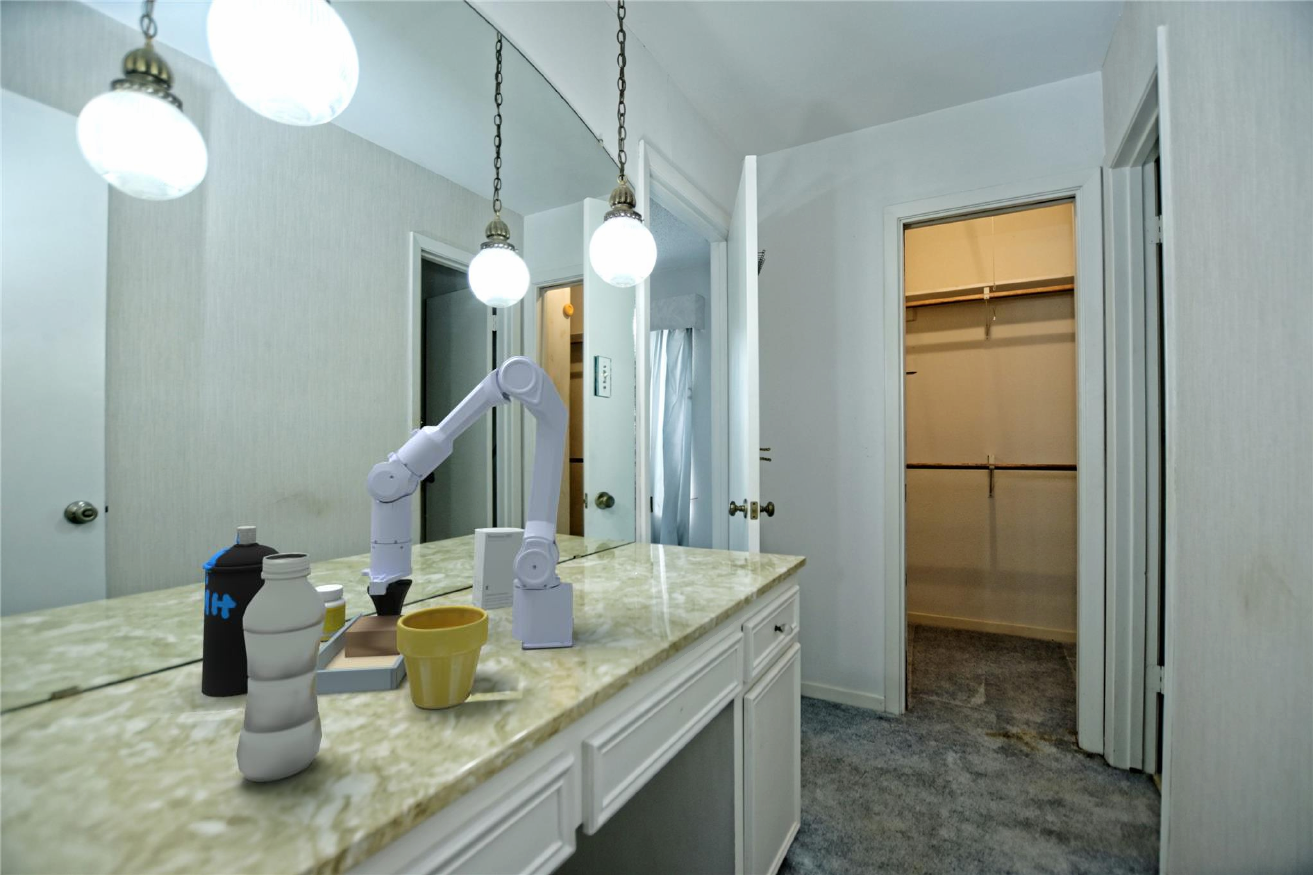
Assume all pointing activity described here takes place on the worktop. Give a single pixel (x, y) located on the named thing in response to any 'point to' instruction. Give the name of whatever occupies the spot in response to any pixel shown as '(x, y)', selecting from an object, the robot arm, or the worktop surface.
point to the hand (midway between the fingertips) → (389, 629)
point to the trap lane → (355, 668)
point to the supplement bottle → (332, 610)
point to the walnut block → (372, 637)
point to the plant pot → (441, 652)
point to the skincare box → (495, 566)
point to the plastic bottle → (282, 671)
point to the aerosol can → (230, 613)
